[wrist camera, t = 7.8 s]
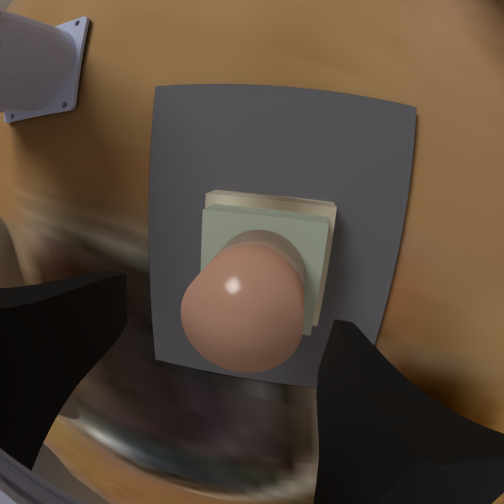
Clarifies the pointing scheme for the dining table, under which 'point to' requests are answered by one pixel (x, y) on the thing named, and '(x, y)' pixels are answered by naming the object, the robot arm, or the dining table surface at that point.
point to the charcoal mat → (281, 184)
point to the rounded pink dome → (247, 303)
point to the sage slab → (281, 222)
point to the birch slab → (284, 205)
